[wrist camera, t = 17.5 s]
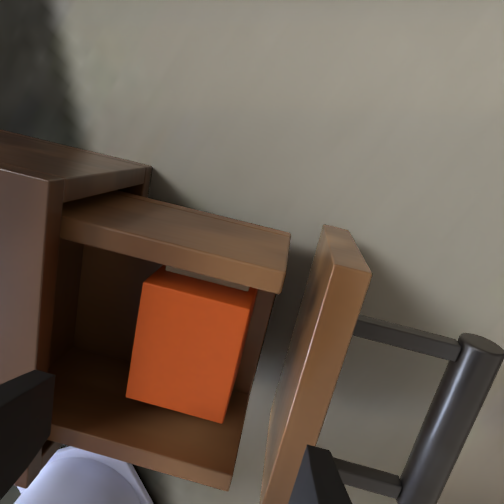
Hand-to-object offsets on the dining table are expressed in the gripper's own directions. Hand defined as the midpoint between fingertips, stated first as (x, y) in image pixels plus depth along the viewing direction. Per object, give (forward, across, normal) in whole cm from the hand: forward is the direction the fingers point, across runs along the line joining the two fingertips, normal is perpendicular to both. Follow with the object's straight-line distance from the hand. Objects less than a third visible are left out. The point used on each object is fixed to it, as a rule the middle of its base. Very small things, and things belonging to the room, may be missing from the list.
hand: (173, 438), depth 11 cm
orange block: (+8, +1, 0) cm, 8 cm away
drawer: (+9, -1, 0) cm, 9 cm away
